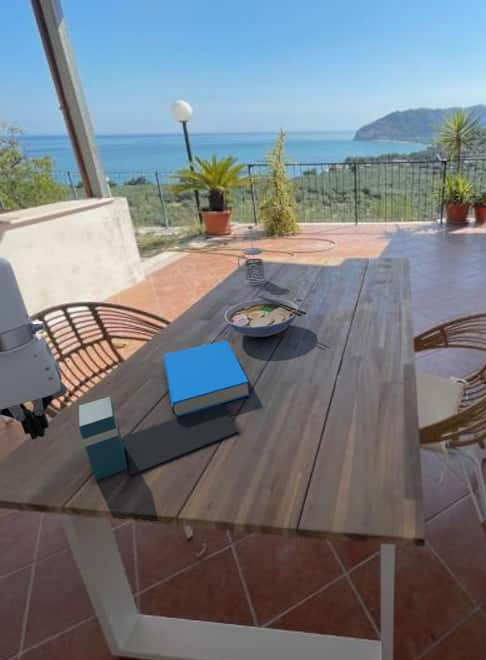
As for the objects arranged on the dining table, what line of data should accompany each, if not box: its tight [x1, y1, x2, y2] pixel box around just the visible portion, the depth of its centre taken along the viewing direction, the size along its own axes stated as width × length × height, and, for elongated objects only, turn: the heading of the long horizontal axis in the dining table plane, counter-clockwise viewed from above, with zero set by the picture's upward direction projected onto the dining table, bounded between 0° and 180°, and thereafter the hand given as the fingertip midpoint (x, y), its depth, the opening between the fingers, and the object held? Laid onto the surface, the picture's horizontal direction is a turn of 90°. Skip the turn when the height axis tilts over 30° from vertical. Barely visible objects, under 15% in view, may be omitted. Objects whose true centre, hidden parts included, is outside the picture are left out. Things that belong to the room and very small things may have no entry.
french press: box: [237, 225, 268, 286], centre depth 169 cm, size 10×12×25 cm
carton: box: [78, 396, 128, 481], centre depth 72 cm, size 5×7×12 cm
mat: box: [123, 403, 239, 477], centre depth 81 cm, size 20×12×1 cm, turn 125°
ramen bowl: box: [224, 294, 307, 338], centre depth 125 cm, size 25×23×8 cm
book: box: [163, 340, 251, 418], centre depth 99 cm, size 17×4×25 cm
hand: (39, 433), depth 66 cm, fingers closed
